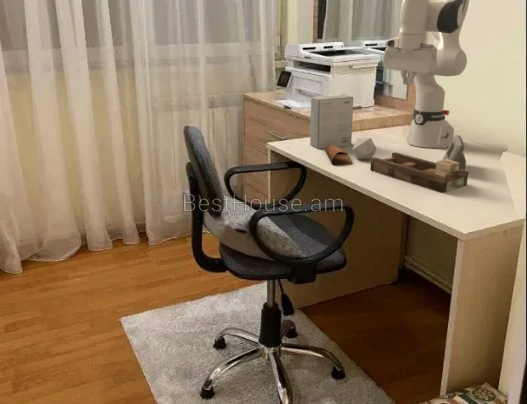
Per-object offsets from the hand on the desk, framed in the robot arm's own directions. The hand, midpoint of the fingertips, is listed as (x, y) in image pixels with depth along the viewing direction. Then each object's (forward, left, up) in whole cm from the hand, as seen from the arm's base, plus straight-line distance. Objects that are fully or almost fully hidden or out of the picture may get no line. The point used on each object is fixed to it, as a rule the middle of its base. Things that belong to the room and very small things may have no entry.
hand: (407, 84), depth 196 cm
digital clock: (-13, +12, -29) cm, 34 cm away
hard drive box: (-1, -37, -29) cm, 47 cm away
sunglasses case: (+10, -21, -30) cm, 38 cm away
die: (+3, -15, -29) cm, 33 cm away
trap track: (+6, +12, -29) cm, 32 cm away
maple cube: (+6, +23, -26) cm, 36 cm away
